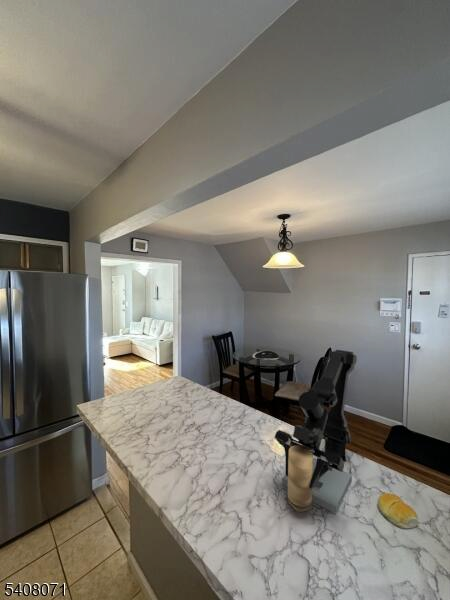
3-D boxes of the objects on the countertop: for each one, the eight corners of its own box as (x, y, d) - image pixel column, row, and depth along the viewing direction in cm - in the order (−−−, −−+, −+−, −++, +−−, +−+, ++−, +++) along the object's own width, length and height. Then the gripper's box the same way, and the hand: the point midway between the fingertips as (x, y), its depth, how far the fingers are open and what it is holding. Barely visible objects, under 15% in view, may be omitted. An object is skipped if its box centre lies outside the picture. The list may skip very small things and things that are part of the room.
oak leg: (311, 499, 70) (313, 448, 69) (311, 519, 64) (313, 463, 63) (287, 493, 72) (289, 443, 72) (286, 512, 66) (287, 457, 65)
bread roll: (393, 499, 73) (393, 485, 73) (423, 526, 64) (424, 511, 64) (369, 503, 71) (370, 489, 71) (398, 532, 62) (398, 517, 62)
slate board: (303, 458, 90) (303, 453, 90) (351, 480, 79) (351, 474, 79) (281, 484, 77) (282, 478, 77) (335, 514, 67) (336, 507, 67)
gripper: (278, 403, 77) (257, 455, 68) (342, 424, 65) (327, 491, 56) (288, 419, 83) (271, 469, 74) (349, 441, 71) (336, 504, 62)
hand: (298, 481), depth 67 cm, fingers closed on oak leg, 6 cm apart
